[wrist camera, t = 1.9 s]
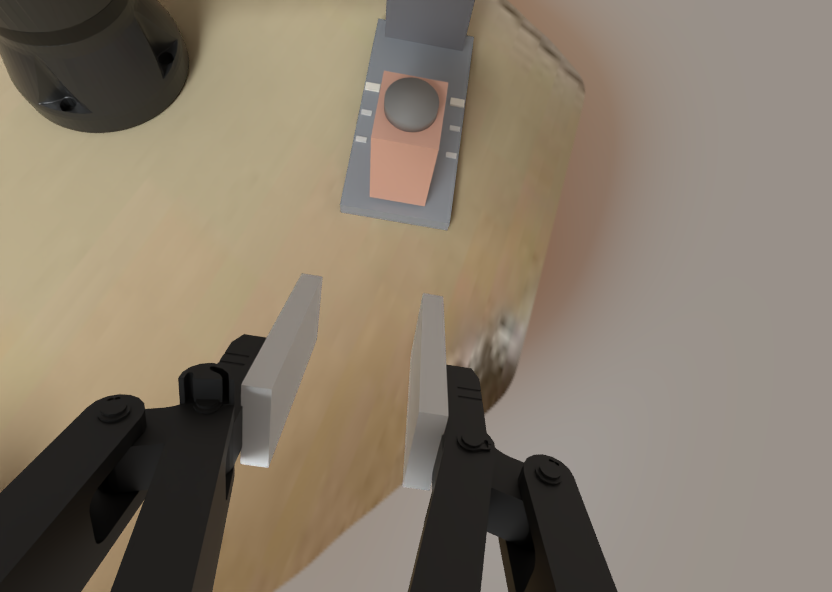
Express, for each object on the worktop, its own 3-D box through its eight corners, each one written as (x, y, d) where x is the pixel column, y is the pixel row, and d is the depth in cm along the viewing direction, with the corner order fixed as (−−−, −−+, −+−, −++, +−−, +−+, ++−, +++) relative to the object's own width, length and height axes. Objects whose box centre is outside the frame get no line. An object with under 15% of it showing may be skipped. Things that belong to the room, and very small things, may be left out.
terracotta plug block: (424, 206, 45) (440, 141, 36) (369, 196, 45) (371, 128, 35) (433, 149, 47) (450, 73, 37) (380, 139, 47) (384, 60, 37)
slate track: (447, 230, 47) (462, 191, 40) (340, 212, 46) (336, 169, 39) (471, 47, 53) (487, -15, 46) (378, 30, 53) (380, -36, 46)
